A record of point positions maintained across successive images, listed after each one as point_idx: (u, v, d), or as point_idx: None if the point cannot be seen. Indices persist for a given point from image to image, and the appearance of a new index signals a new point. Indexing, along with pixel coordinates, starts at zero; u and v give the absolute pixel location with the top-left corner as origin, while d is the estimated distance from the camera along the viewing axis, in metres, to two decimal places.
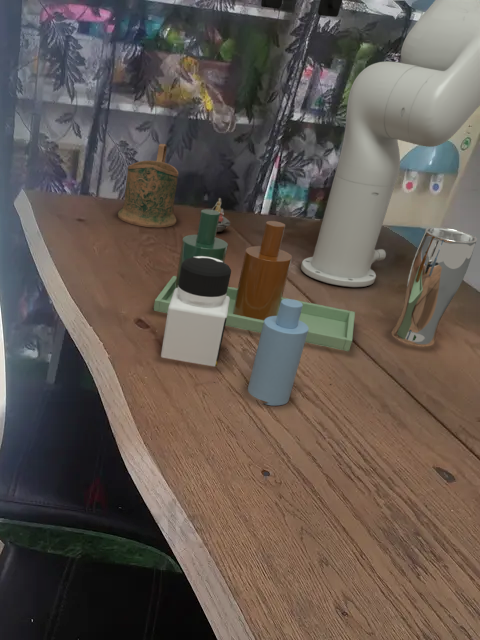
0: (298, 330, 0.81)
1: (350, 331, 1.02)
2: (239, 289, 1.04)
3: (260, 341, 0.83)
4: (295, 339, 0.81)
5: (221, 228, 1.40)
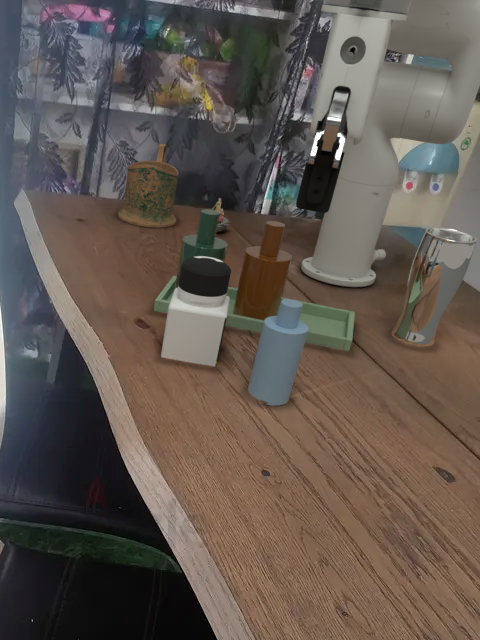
0: (298, 330, 0.81)
1: (350, 331, 1.02)
2: (239, 289, 1.04)
3: (260, 341, 0.83)
4: (295, 339, 0.81)
5: (221, 228, 1.40)
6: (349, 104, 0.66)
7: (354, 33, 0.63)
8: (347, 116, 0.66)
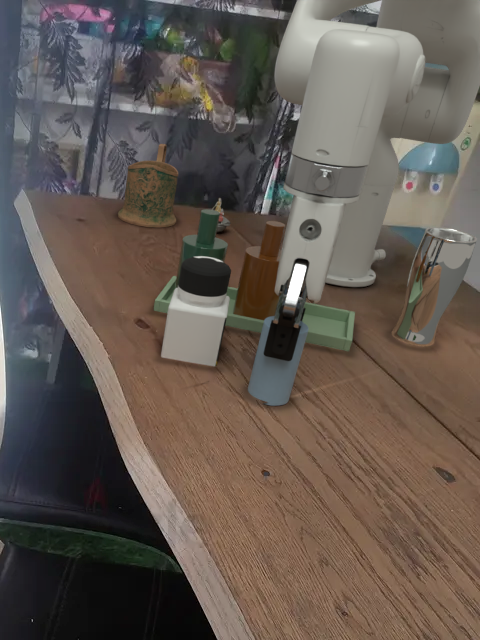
0: None
1: (350, 331, 1.02)
2: (239, 289, 1.04)
3: (260, 341, 0.83)
4: None
5: (221, 228, 1.40)
6: (308, 273, 0.74)
7: (311, 216, 0.71)
8: (306, 282, 0.74)
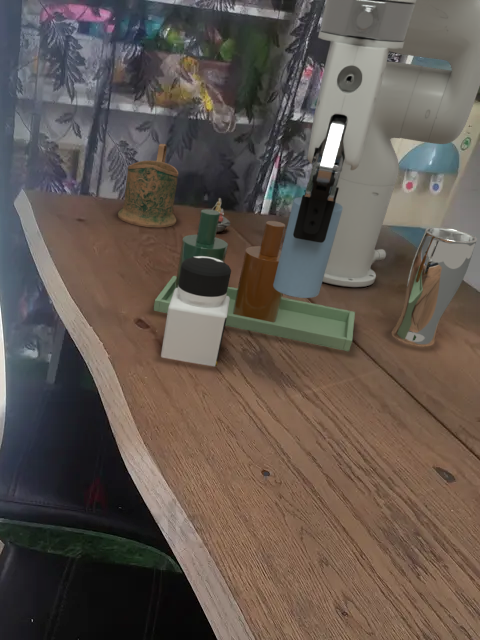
0: None
1: (350, 331, 1.02)
2: (239, 289, 1.04)
3: (289, 224, 0.76)
4: None
5: (221, 228, 1.40)
6: (346, 132, 0.66)
7: (351, 62, 0.64)
8: (344, 143, 0.67)
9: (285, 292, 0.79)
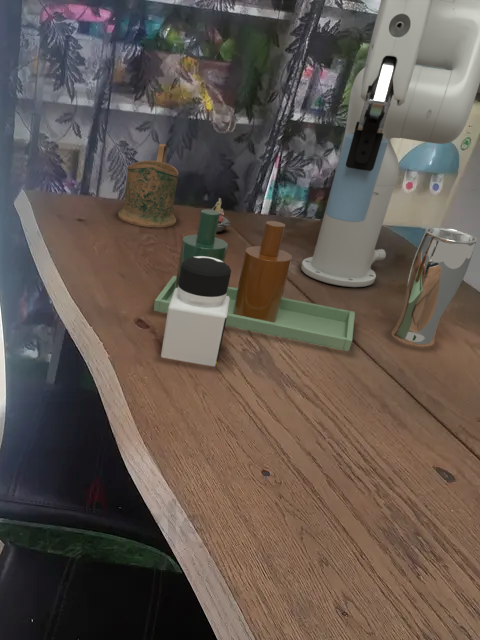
0: None
1: (350, 331, 1.02)
2: (239, 289, 1.04)
3: (341, 156, 0.89)
4: None
5: (221, 228, 1.40)
6: (395, 71, 0.79)
7: (401, 11, 0.76)
8: (393, 81, 0.80)
9: (336, 217, 0.91)
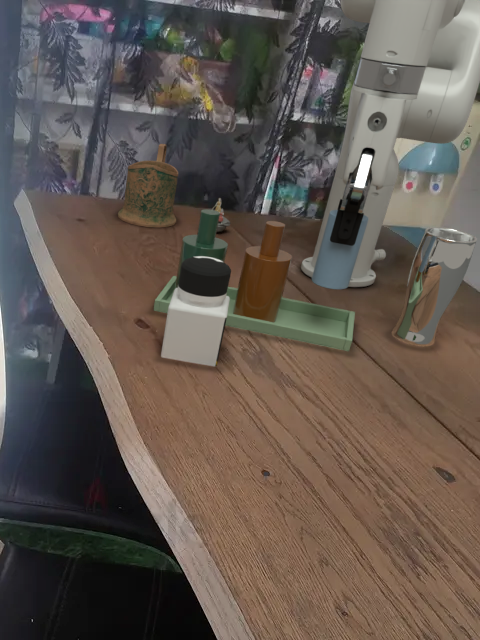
0: None
1: (350, 331, 1.02)
2: (239, 289, 1.04)
3: (326, 230, 0.97)
4: None
5: (221, 228, 1.40)
6: (374, 161, 0.87)
7: (378, 109, 0.85)
8: (372, 169, 0.88)
9: (322, 284, 0.99)
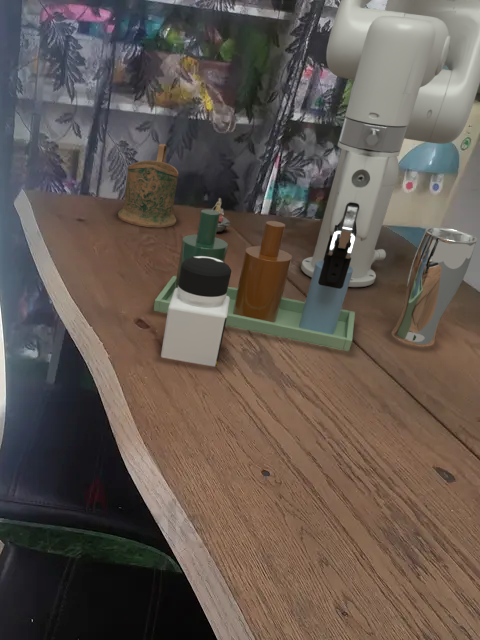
0: None
1: (350, 331, 1.02)
2: (239, 289, 1.04)
3: (312, 281, 1.01)
4: None
5: (221, 228, 1.40)
6: (358, 215, 0.91)
7: (361, 167, 0.88)
8: (356, 223, 0.91)
9: None
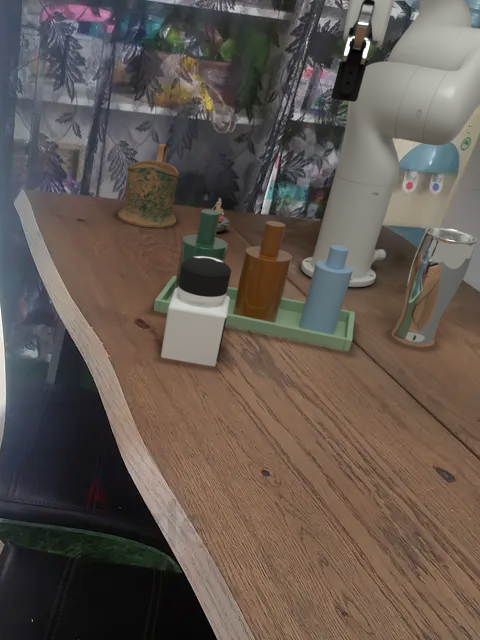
0: (345, 270, 0.99)
1: (350, 331, 1.02)
2: (239, 289, 1.04)
3: (312, 281, 1.01)
4: (342, 277, 0.98)
5: (221, 228, 1.40)
6: (373, 13, 0.88)
7: None
8: (372, 23, 0.88)
9: None
